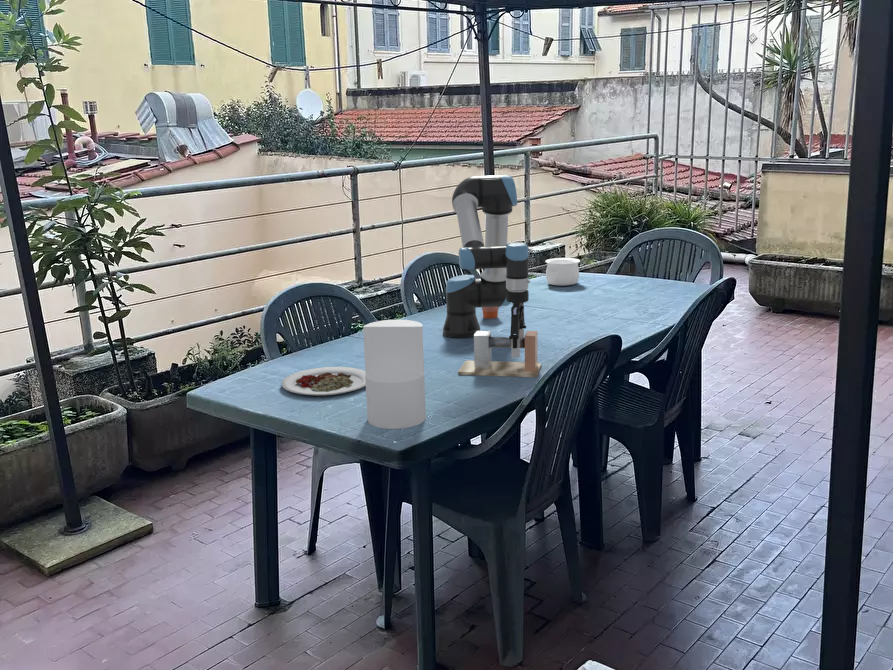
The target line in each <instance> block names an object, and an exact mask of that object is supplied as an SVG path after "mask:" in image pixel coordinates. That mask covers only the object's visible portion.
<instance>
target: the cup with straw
mask: <svg viewBox="0 0 893 670" xmlns="http://www.w3.org/2000/svg"><path fill="white" fill-rule="evenodd" d="M499 309H500V307H481V311H482V316H483V317H482V318H483V319H488V320H489V319H490V320H492V319H493V320H494V319H496V318H498V315H499V314H498V313H499Z"/></svg>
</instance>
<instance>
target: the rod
mask: <svg viewBox="0 0 893 670" xmlns="http://www.w3.org/2000/svg"><path fill="white" fill-rule="evenodd" d="M519 340H520V349H525V337H524V338H520V337H519ZM489 347H491V348H504V349H505V348H506V349H507V348H509V349H511V339H509V336H507V337H506V336H491V337H489Z"/></svg>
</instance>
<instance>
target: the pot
mask: <svg viewBox="0 0 893 670" xmlns="http://www.w3.org/2000/svg"><path fill="white" fill-rule="evenodd" d="M580 262H581V260H580V259H579V258H573V257H555V258H549V259H546V260H545V263H546V264H547V265H546V269H545V270H546V271H545V279H546V282H547V284H549V285H553V286H572V285H576V284H577V283H578V282H579V278H580V271H579V268H580V267H579V263H580Z"/></svg>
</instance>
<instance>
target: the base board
mask: <svg viewBox="0 0 893 670" xmlns="http://www.w3.org/2000/svg"><path fill="white" fill-rule="evenodd" d="M541 368H542V362H538V366H537V369H536V371H525V361H523V362H522V361H497V360H496V361H493V360H492V365H491V366H490V368H489V369H475V368H474V360H470V359H469V360H467V359H466V360H465V361H464V362H463V364H462V365H461V367H460V368H459V369H458V372H457V375H460V376H461V375H463V376H487V377H489V376H490V377H493V376H494V377H513V378H515V377H516V378H538V375H539V373H540V370H541Z"/></svg>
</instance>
